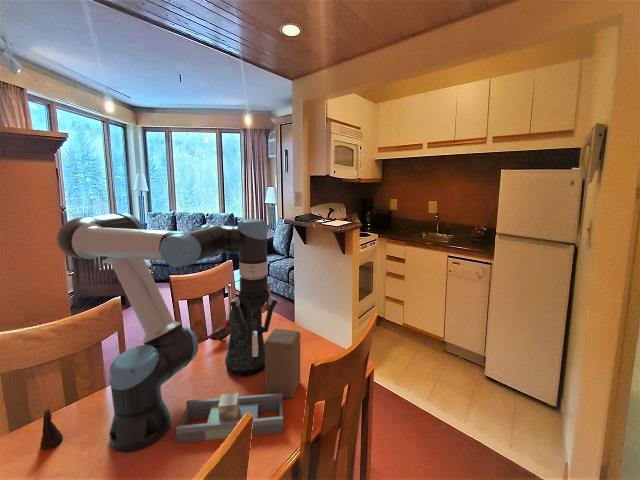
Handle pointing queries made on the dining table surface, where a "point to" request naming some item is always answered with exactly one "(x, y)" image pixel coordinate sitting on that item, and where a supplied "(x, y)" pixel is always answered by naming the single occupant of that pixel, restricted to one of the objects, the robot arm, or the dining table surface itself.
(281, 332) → the wooden block
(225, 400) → the birch block
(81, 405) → the dining table surface
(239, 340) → the beer stein
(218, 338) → the decorative bird figurine
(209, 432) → the board
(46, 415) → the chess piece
